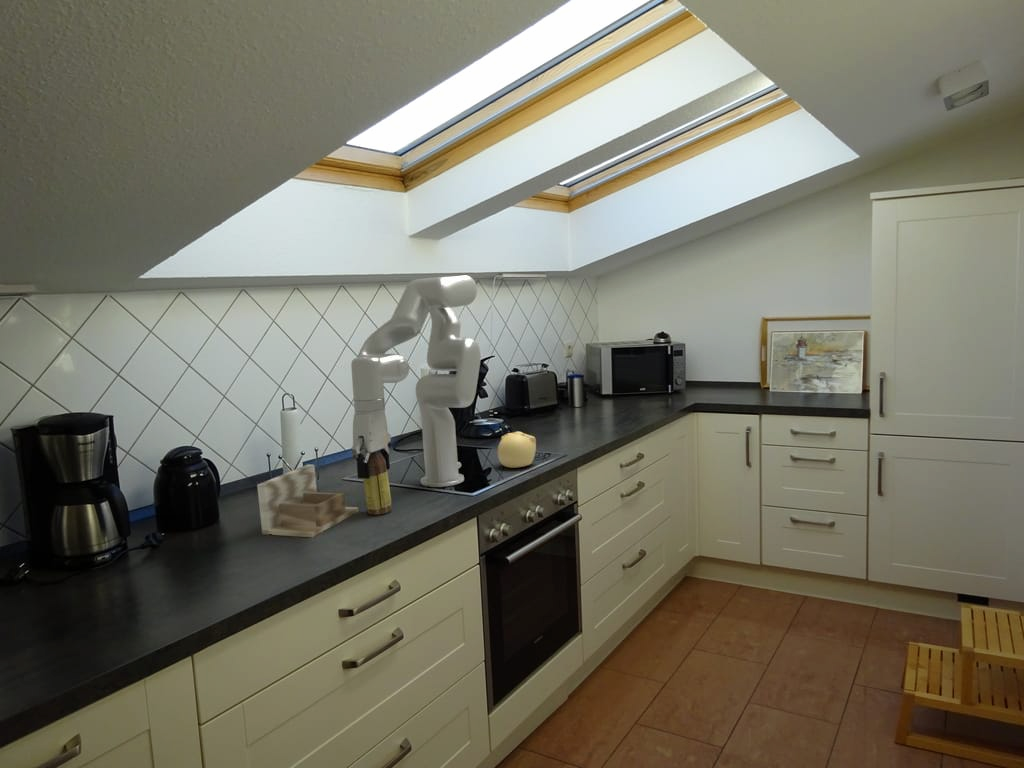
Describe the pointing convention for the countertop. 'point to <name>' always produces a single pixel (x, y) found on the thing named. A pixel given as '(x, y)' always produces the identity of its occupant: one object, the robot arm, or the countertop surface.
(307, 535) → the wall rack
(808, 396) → the countertop surface
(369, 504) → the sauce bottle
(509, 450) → the pale yellow rounded lump
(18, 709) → the countertop surface
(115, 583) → the countertop surface
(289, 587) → the countertop surface
